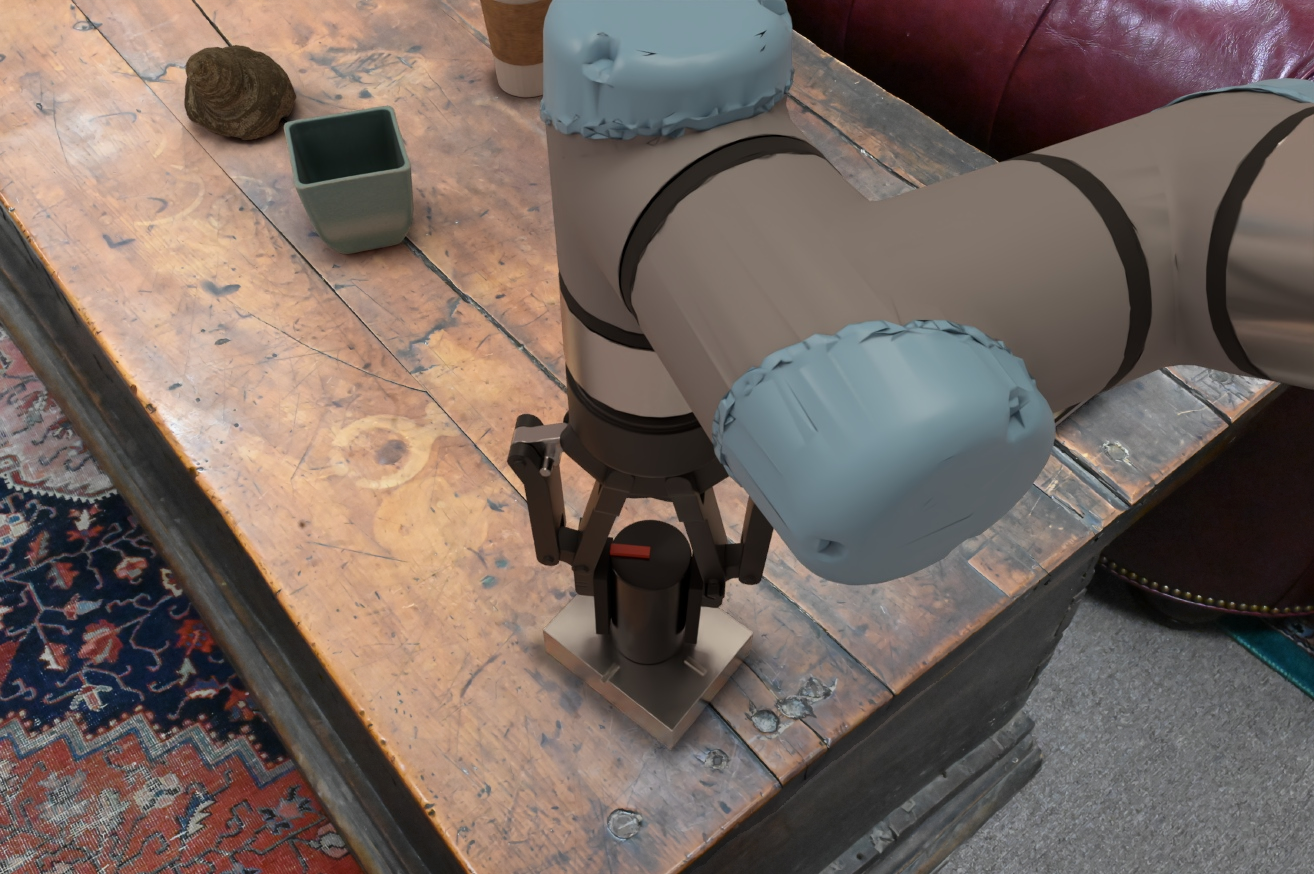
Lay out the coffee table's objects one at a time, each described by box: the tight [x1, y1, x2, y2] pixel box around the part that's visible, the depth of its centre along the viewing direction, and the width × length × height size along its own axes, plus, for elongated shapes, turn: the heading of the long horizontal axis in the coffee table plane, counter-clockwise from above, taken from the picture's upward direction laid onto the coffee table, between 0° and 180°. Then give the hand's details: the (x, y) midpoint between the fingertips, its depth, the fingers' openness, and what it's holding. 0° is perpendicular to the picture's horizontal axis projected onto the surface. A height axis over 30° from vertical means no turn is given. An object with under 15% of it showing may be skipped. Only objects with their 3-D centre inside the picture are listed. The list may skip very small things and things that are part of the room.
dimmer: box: [609, 519, 692, 664], centre depth 57 cm, size 4×4×9 cm
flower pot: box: [283, 105, 414, 255], centre depth 83 cm, size 9×9×9 cm
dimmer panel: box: [542, 593, 755, 751], centre depth 62 cm, size 10×9×3 cm
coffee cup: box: [479, 0, 552, 98], centre depth 94 cm, size 8×8×15 cm
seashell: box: [183, 44, 297, 141], centre depth 92 cm, size 11×12×10 cm
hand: (648, 617), depth 60 cm, fingers closed on dimmer, 4 cm apart
